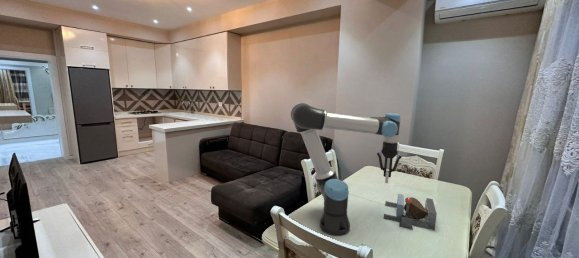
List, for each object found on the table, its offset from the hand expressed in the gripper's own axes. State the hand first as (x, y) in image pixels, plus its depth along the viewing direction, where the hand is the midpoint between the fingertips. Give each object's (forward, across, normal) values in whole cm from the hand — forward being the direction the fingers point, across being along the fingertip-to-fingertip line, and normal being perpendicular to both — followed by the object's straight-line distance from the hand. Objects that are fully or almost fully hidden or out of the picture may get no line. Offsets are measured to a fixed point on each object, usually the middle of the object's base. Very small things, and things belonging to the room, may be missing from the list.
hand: (386, 182), depth 132 cm
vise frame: (+18, -12, +2) cm, 22 cm away
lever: (+13, -11, +11) cm, 20 cm away
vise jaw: (+17, -8, 0) cm, 19 cm away
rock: (+18, -15, 0) cm, 23 cm away
